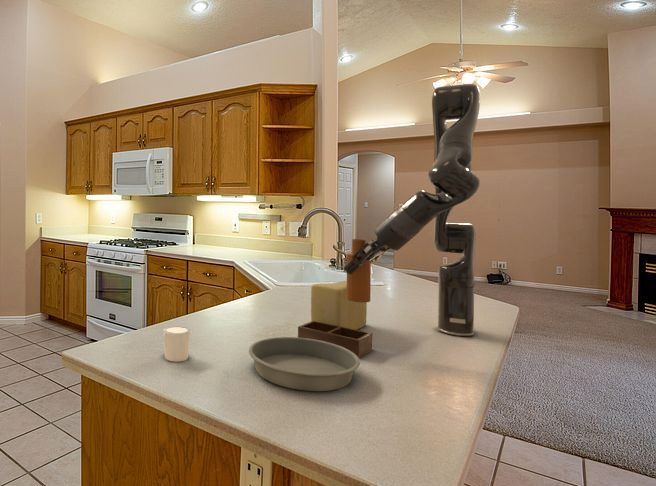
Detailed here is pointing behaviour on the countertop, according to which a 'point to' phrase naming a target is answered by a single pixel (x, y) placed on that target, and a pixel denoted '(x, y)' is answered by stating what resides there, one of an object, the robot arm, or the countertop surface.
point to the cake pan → (304, 363)
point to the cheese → (336, 306)
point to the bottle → (359, 276)
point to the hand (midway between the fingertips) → (352, 269)
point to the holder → (338, 336)
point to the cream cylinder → (176, 343)
